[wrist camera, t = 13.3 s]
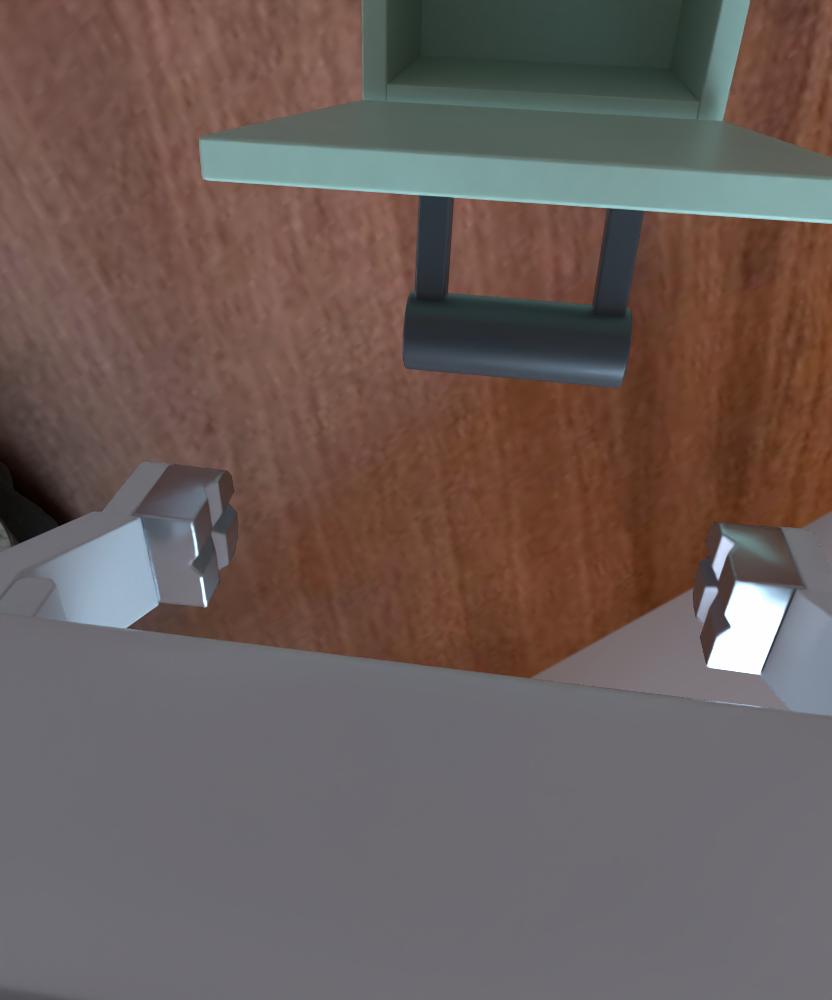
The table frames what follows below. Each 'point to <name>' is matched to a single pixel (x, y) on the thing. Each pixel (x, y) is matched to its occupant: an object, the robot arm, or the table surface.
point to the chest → (555, 54)
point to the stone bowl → (19, 515)
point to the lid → (533, 179)
